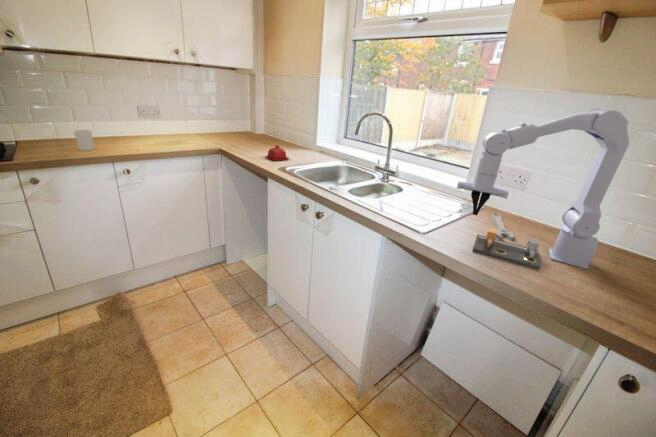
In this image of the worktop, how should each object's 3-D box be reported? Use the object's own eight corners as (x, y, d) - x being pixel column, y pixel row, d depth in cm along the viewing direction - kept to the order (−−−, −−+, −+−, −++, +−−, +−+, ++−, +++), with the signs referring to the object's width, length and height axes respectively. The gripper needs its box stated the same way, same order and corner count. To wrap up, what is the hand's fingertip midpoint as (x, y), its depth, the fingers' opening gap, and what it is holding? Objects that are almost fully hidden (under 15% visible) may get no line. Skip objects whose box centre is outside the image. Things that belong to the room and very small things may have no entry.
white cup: (93, 150, 174) (89, 132, 170) (75, 150, 171) (71, 132, 167) (96, 147, 181) (93, 130, 177) (80, 147, 178) (76, 129, 174)
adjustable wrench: (490, 215, 130) (492, 211, 129) (508, 219, 128) (509, 215, 127) (493, 239, 109) (495, 234, 108) (514, 243, 107) (516, 239, 106)
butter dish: (280, 156, 197) (280, 142, 194) (290, 160, 190) (290, 146, 186) (263, 158, 190) (263, 143, 187) (273, 162, 183) (273, 147, 179)
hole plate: (536, 253, 100) (542, 238, 98) (538, 270, 90) (545, 254, 88) (476, 237, 108) (480, 223, 106) (472, 251, 98) (476, 235, 96)
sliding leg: (494, 239, 103) (497, 229, 102) (492, 248, 97) (496, 237, 96) (485, 237, 104) (489, 227, 103) (483, 246, 98) (487, 235, 97)
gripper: (513, 175, 97) (500, 215, 102) (463, 166, 103) (453, 205, 108) (513, 180, 91) (499, 223, 96) (460, 170, 97) (450, 211, 103)
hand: (475, 214), depth 102 cm, fingers closed
